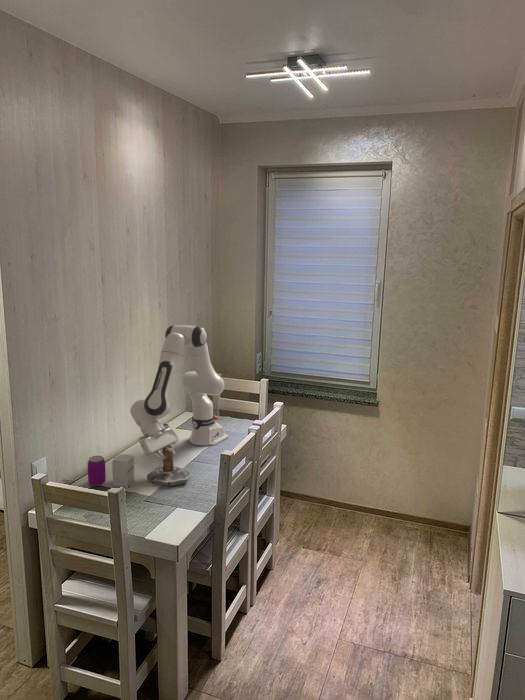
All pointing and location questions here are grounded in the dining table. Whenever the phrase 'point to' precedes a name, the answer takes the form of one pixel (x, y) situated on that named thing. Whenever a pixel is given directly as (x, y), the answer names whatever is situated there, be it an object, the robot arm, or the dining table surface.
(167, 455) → the walnut pepper mill
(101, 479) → the beverage can
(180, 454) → the dining table surface
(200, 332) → the robot arm
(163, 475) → the brain slice
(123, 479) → the supplement box
